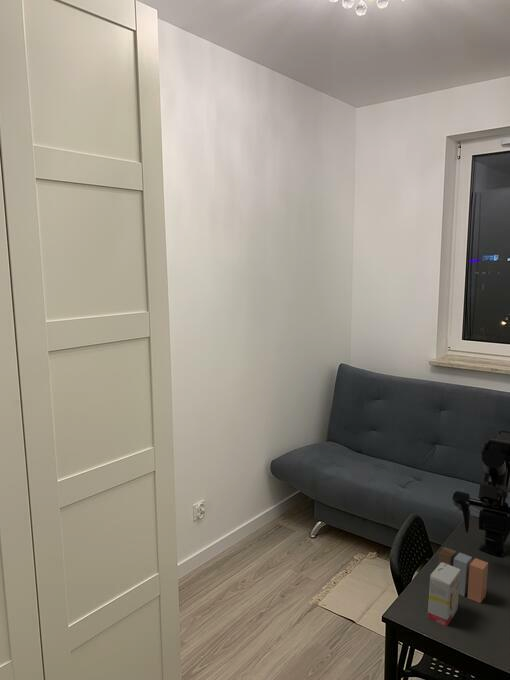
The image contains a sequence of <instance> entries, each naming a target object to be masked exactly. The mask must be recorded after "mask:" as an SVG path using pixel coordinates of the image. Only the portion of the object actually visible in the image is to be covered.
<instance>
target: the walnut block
mask: <svg viewBox="0 0 510 680" xmlns="http://www.w3.org/2000/svg"><path fill="white" fill-rule="evenodd" d="M456 556H457V550H453V549H451V548H448V547H445V546H444V547H443V548H442V549H441V550H440V551H439V552H438V553H437V566H438V565H439V564H440V563H446V564H448V565H451V566H453V563H454V558H455V557H456Z"/></svg>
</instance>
